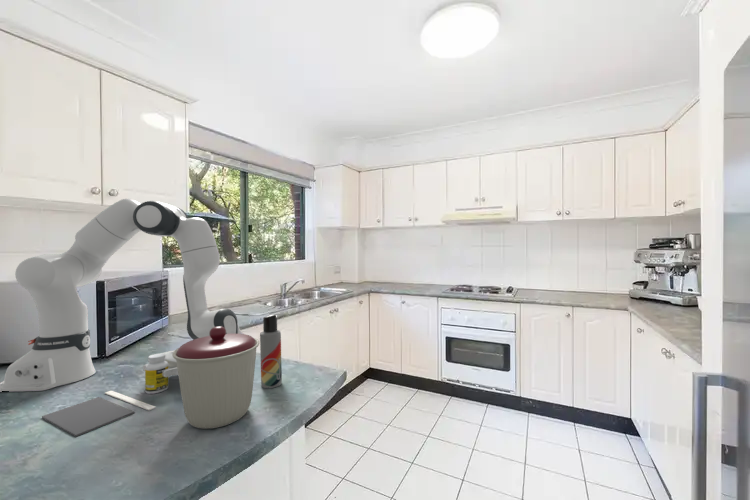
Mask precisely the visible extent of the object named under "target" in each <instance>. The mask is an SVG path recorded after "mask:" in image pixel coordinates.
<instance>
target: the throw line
mask: <svg viewBox="0 0 750 500" xmlns="http://www.w3.org/2000/svg"><path fill="white" fill-rule="evenodd" d="M104 394H105V395H108V396H109V397H112V398H115V399H117V400H121V401H122V402H123V401H124V402H126V403H128V404H130V405H134V406H135V407H139V408H141V409H144V410H147V411H148V412H149V411H151V410H155V409H156V406H155V405H151V404H149V403H147V402H143V401H141V400H139V399H135V398H133V397H130V396H129V395H128V396H127V395H124V394H122V393H120V392H117V391H114V390H109V391H106V392H104Z"/></svg>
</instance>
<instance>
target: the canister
mask: <svg viewBox="0 0 750 500" xmlns="http://www.w3.org/2000/svg"><path fill="white" fill-rule="evenodd" d="M209 335H210V336H206V337H201V338H198V339H194V340H193V339H192V340H189V341H187V342H185V343H184V344H181V345H180V347H178V348H176V349H174V350H175V351H174V352H173V353H172V356H173V358H174V359H176V362H177V369H178V375H177V376H178V382H179V389H180V394H181V395H180V396H181V400H182V406H183V410H184V411H183V412H184V416H185V418H186V420H187V422H188V424H190V425H191V426H192V427H194V428H197V429H202V430H204V429H207V430H209V429H216V428H221V427H224V426H228V425H230V424H232V423H235V422H236V421H238V420H240V419H241V418H242V417H244V416H245V415H246V414H247V412H248V411H249V408H250V406H251V403H252V398H253V397H252V396H253V389H254V381H255V379H254V378H255V369H256V358H257V348H258V347H260V340H259V339H257V338H255V337H253V336H251V335H248V334H245V333H244V334H226V329H225V328H224V327H222V326H217V327H213V328H212V329H211V330H210V332H209Z"/></svg>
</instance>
